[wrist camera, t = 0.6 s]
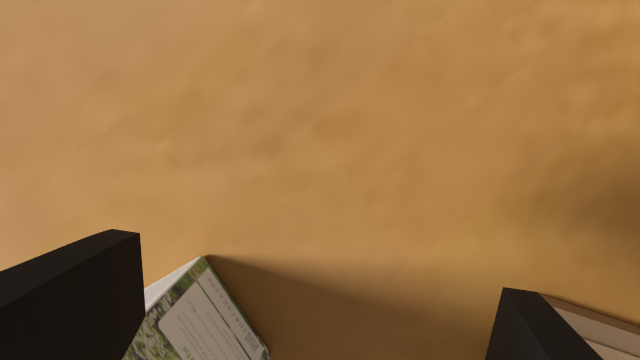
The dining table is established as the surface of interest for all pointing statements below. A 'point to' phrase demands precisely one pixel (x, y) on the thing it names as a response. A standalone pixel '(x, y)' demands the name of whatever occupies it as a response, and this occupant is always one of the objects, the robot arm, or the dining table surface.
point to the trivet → (601, 331)
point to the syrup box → (194, 320)
